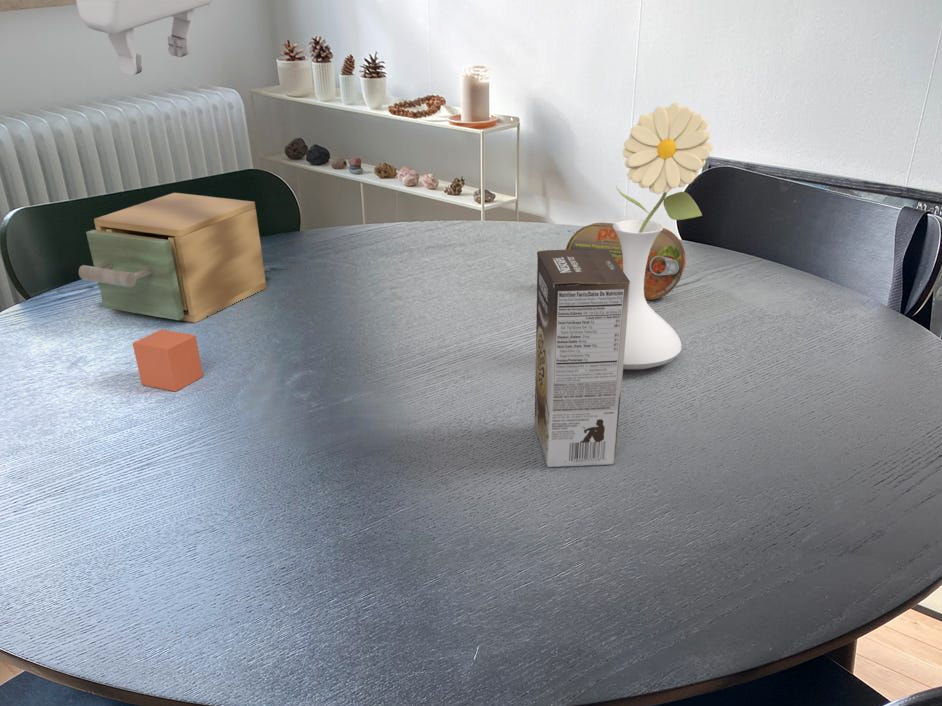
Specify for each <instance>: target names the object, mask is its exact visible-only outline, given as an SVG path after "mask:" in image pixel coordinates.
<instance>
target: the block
mask: <svg viewBox="0 0 942 706" xmlns="http://www.w3.org/2000/svg"><path fill="white" fill-rule="evenodd" d="M132 348H133V352H134V357H135V361H136V366H137V370H138V374H139V379H140V383H141V385H142V386H146V387H149V388H155V389H160V390H166V391H170V392H175V393H176V392H178V391H180V390H181V389H184V388H185V387H187V386H189V385H190V384H193V383H194V382H196V381H198V380H200V379H201V378H203V377H204V375H203V369H202V363H201V357H200V353H199V347H198V341H197V336H196V334H191V333H185V332H180V331H175V330H167V329H163V328H160V329H158V330H157V331H155V332H152V333H150V334H148V335H146V336H144V337H142V338H140V339H138V340H135V341H133V342H132Z"/></svg>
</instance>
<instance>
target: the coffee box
mask: <svg viewBox="0 0 942 706" xmlns="http://www.w3.org/2000/svg"><path fill="white" fill-rule="evenodd" d="M536 255H537V263H536V264H537V265H536V266H537V269H536V271H537V273H536V275H537V276H536V320H535V321H536V325H535V326H536V327H535V329H536V330H535V373H534V374H535V377H534V379H535V384H534V428H535V432H536V434H537V437H538V441H539V444H540V447H541V452H542V455H543V458H544V461H545V464H546V467H547V468H562V467H584V466H585V467H587V466H608V465H611V466H612V465H614V464H615V463H616V453H617V441H618V440H617V439H618V429H619V428H618V427H619V419H620V418H619V417H620V408H621V407H620V406H621V395H622V383H623V372H624V369H623V362H624V351H625V340H626V327H627V315H628V303H629V290H630V281H629V279H628V278H627V276H626V275H625V273H624V272H623V271H622V269H621V268H620V266H619V265H618V263H617V262H616V260H615V259H614V257H613V256H612V254H611V253H610V251H609V250H591V251H586V250H571V249H566V248H565V249H546V250H539V251H537V252H536Z"/></svg>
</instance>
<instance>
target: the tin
mask: <svg viewBox="0 0 942 706" xmlns="http://www.w3.org/2000/svg"><path fill="white" fill-rule="evenodd" d="M614 224H615V223H611V222H594V223H591V224H588V225H585V226H583V227H581V228H579V229H577V230H576V232H574V233H573V234H572V235H571V237H570V238H569V240H568V243H567V245H566V248H565V249H571V250H586V251H591V250H609V251H610V253H611V254H612V256H613V257H614V259H615V260H616V262H617V263H618V265H619V266H620V268H621V269H622V271H623V255H622V247H621V243H620V240H619V238H618V235H617V234H616V232H615V230H614V229H613V225H614ZM685 269H686V252H685V248H684V246H683V243H682V242H681V240H680V239H679V237H678V236H677V235H676V234H675V233H674V232H672V231H671V230H669V229H667V228H664V227H663V229H662V231H661V232H660V233H659V234H658V236H657V237H656V239H655V240H654V242H653V244H652V247H651V249H650V252H649V256H648V259H647V264H646V269H645V277H644V297H645V300H646V301H652V300H658V299H661V298H663V297H665V296H667V295H668V294H669V293H671V292H672V291H673V290H674V289H675V287H676V286H677V285H678V284H679V282H680V280H681V279H682V277H683V274H684V272H685Z"/></svg>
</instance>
